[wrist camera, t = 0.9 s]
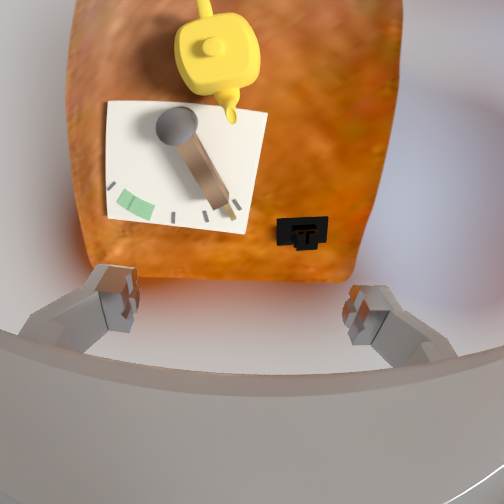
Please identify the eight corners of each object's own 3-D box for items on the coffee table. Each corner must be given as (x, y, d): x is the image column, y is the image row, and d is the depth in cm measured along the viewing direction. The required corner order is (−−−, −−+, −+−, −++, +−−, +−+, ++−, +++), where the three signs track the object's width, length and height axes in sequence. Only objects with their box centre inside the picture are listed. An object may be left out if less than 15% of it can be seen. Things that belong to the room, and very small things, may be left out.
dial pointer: (158, 117, 36) (148, 121, 32) (188, 100, 35) (181, 101, 31) (220, 223, 46) (218, 237, 42) (248, 210, 45) (249, 224, 41)
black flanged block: (337, 209, 48) (345, 221, 44) (333, 245, 52) (340, 259, 48) (266, 213, 48) (269, 225, 44) (267, 249, 52) (269, 264, 48)
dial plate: (112, 100, 35) (107, 101, 34) (266, 112, 38) (268, 113, 37) (110, 214, 46) (107, 218, 44) (244, 230, 49) (245, 235, 48)
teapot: (270, 108, 38) (281, 115, 29) (197, 125, 39) (185, 137, 30) (244, 1, 28) (246, -24, 19) (169, 19, 29) (149, 2, 20)
